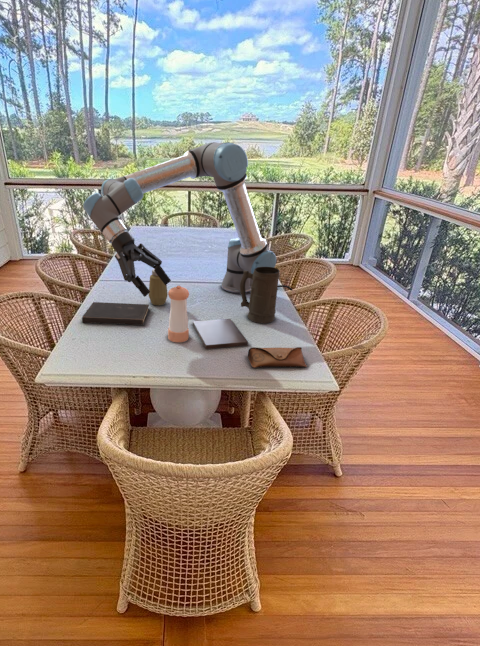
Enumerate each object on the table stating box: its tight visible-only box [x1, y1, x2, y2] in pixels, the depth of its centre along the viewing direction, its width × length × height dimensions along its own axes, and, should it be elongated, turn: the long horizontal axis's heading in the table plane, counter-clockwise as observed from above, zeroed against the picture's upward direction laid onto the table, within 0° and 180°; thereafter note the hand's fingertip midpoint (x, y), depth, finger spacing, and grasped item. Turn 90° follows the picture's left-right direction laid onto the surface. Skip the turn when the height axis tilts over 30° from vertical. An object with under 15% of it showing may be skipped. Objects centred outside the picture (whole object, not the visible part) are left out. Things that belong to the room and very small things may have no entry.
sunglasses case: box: [247, 346, 308, 369], centre depth 126 cm, size 18×7×7 cm, turn 95°
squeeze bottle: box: [148, 261, 169, 306], centre depth 163 cm, size 8×8×18 cm
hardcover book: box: [81, 301, 150, 326], centre depth 155 cm, size 16×23×2 cm
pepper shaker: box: [167, 285, 190, 343], centre depth 135 cm, size 7×7×19 cm
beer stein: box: [240, 267, 281, 324], centre depth 153 cm, size 15×11×20 cm
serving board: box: [192, 318, 249, 350], centre depth 143 cm, size 15×20×2 cm
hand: (158, 288), depth 134 cm, fingers open, 13 cm apart
